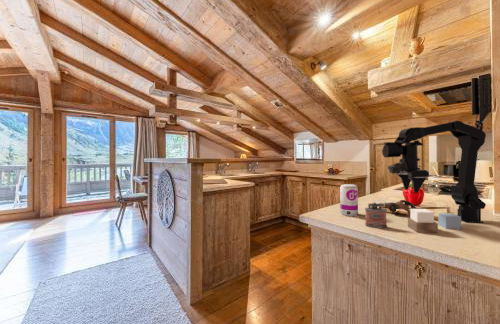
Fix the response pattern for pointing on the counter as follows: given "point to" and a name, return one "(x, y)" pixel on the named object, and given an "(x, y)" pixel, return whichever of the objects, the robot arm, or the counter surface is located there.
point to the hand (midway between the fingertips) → (410, 191)
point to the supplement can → (348, 200)
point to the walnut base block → (423, 226)
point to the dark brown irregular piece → (400, 203)
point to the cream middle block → (422, 215)
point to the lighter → (376, 215)
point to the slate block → (449, 220)
